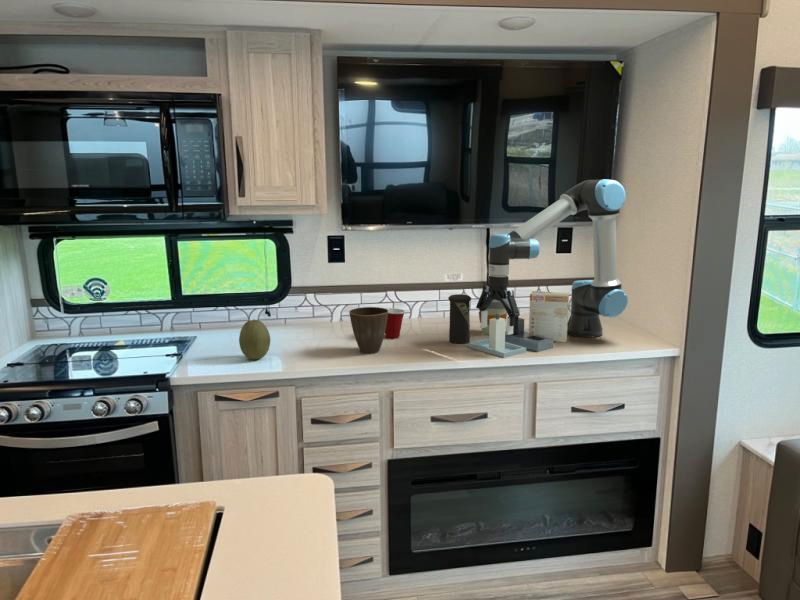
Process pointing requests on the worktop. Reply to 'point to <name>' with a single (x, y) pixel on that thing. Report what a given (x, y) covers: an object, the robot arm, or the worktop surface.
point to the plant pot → (369, 327)
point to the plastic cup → (394, 322)
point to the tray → (509, 350)
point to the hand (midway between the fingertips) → (496, 330)
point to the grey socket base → (528, 338)
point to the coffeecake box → (549, 315)
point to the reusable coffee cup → (493, 313)
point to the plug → (497, 333)
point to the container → (459, 319)
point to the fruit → (254, 339)
